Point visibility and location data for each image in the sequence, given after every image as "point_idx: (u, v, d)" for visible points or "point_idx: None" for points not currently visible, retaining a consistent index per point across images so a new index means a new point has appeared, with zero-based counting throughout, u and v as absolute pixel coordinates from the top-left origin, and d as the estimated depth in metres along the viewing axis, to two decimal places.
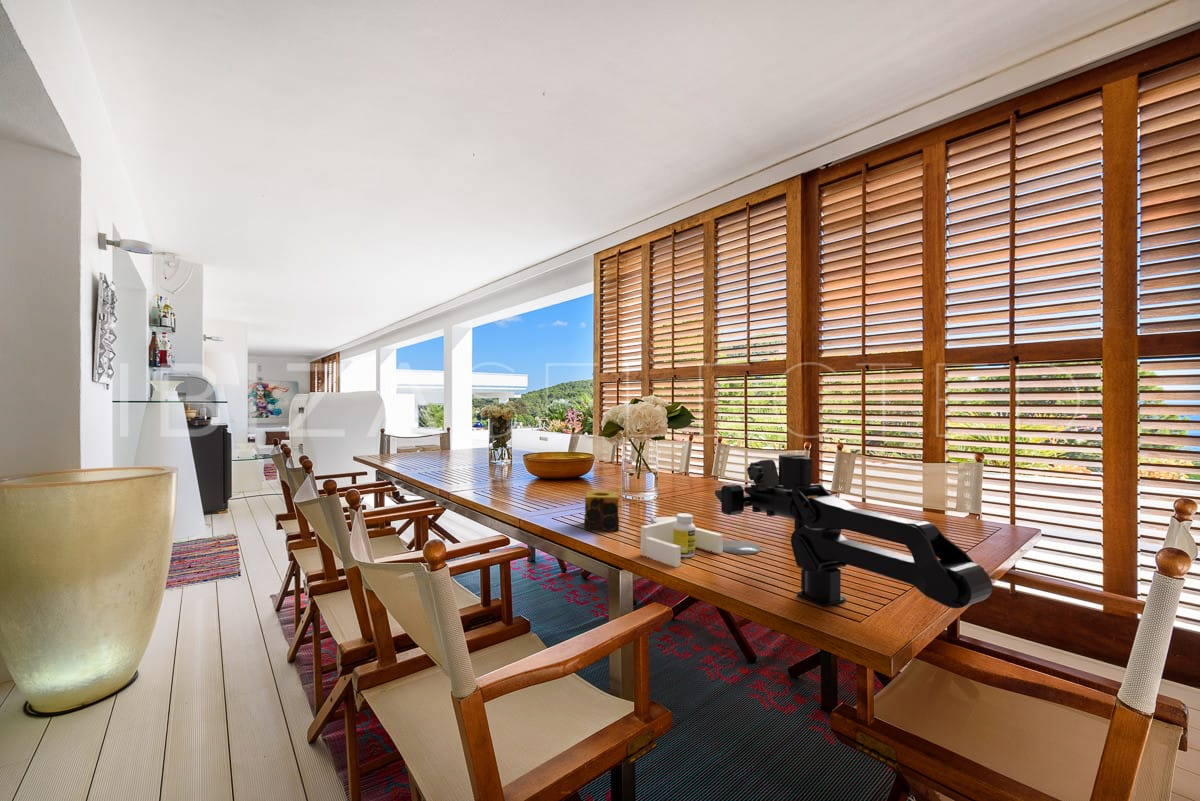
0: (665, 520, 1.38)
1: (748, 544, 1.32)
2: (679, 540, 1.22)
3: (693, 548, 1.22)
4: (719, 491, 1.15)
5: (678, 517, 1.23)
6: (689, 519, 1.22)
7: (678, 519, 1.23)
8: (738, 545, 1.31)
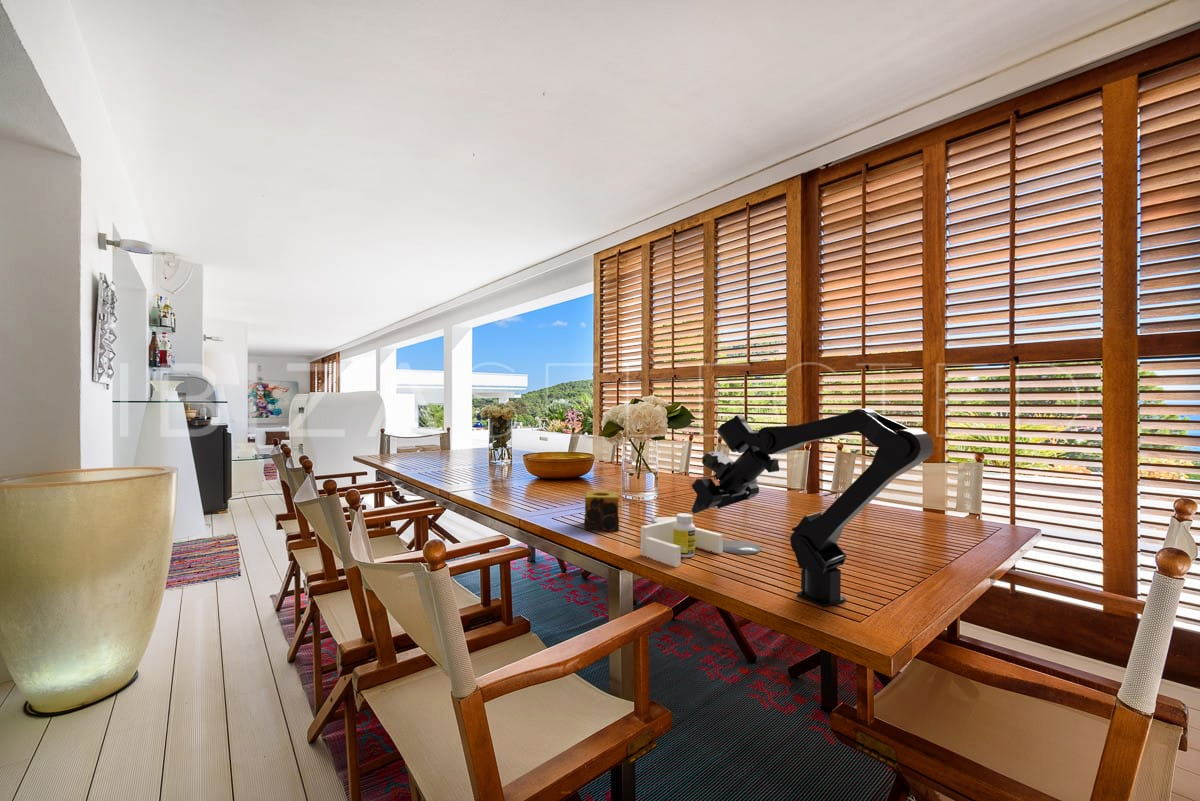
0: (666, 520, 1.38)
1: (748, 544, 1.32)
2: (679, 540, 1.22)
3: (693, 548, 1.22)
4: (694, 504, 1.15)
5: (678, 517, 1.23)
6: (689, 519, 1.22)
7: (678, 519, 1.23)
8: (738, 545, 1.31)
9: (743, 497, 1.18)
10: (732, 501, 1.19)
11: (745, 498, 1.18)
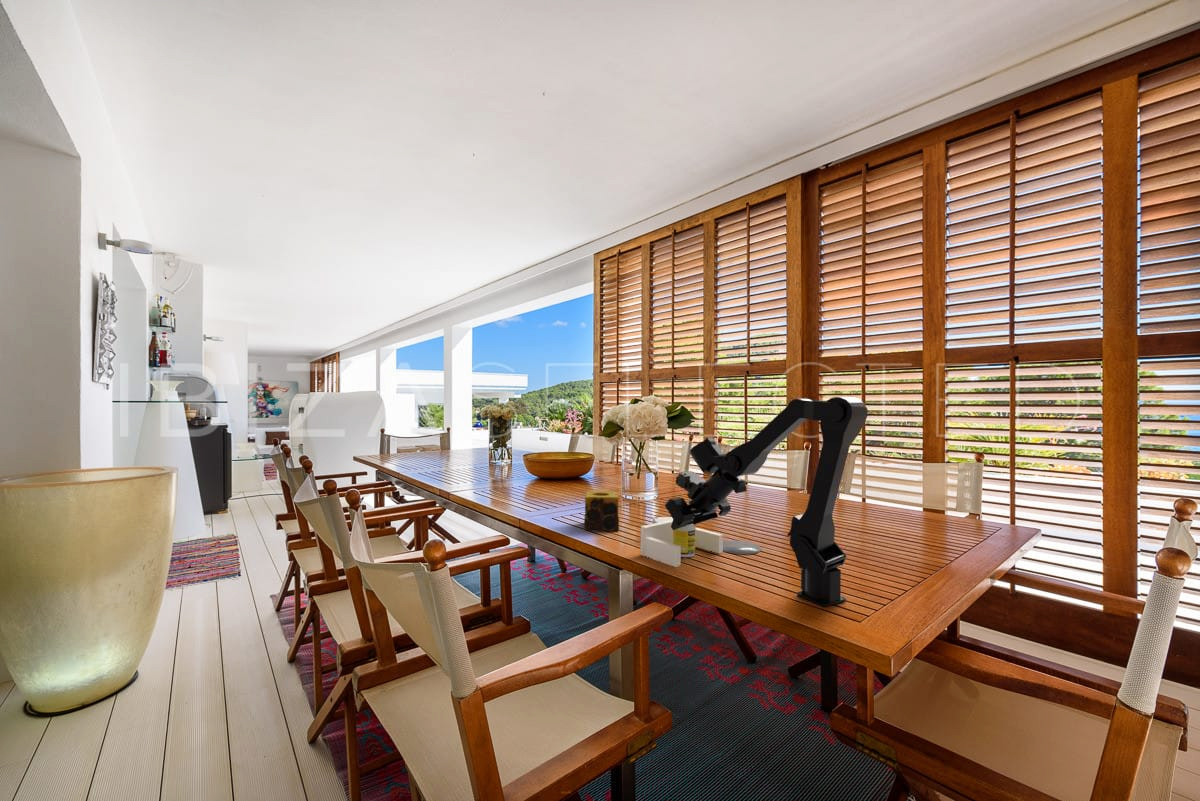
0: (666, 520, 1.38)
1: (748, 544, 1.32)
2: (679, 539, 1.22)
3: (693, 548, 1.22)
4: (673, 521, 1.22)
5: None
6: None
7: None
8: (738, 545, 1.31)
9: (711, 516, 1.23)
10: (701, 519, 1.24)
11: (713, 517, 1.23)
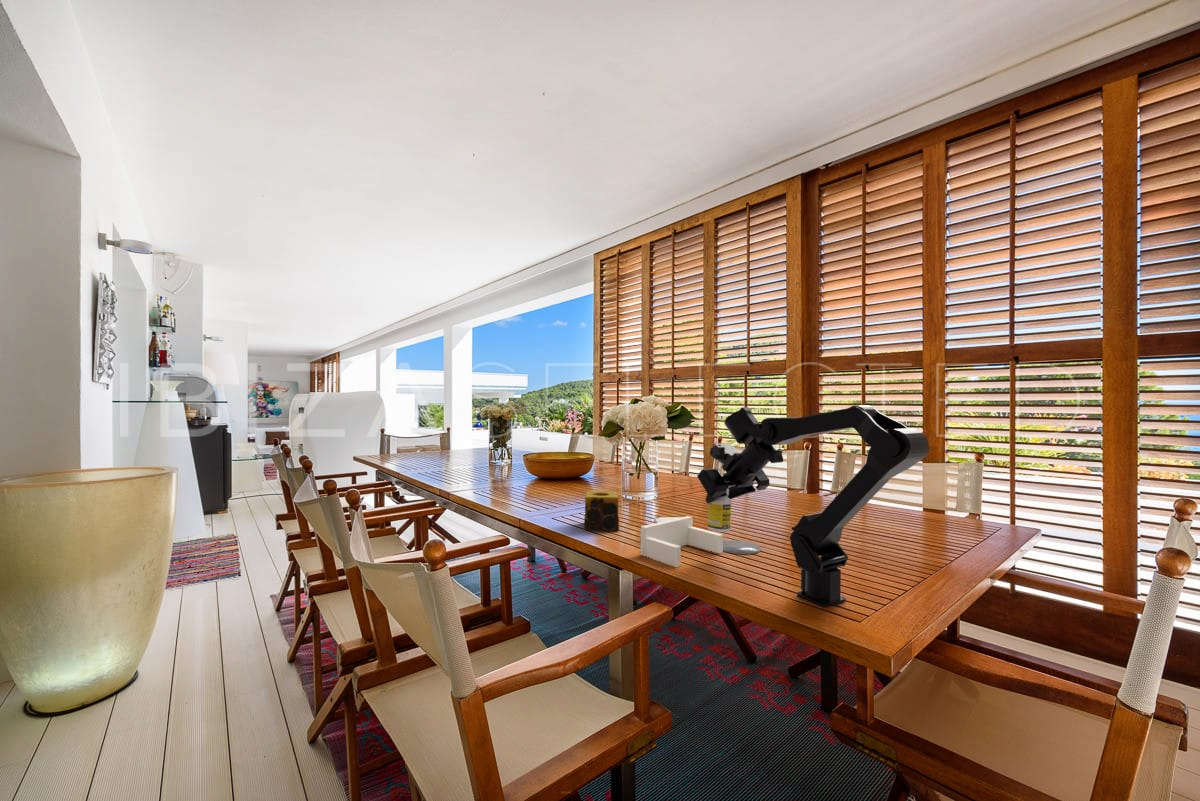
0: (667, 520, 1.38)
1: (748, 544, 1.32)
2: (713, 513, 1.18)
3: (728, 523, 1.18)
4: (707, 493, 1.18)
5: None
6: None
7: None
8: (738, 545, 1.31)
9: (748, 489, 1.18)
10: (737, 493, 1.20)
11: (750, 491, 1.18)
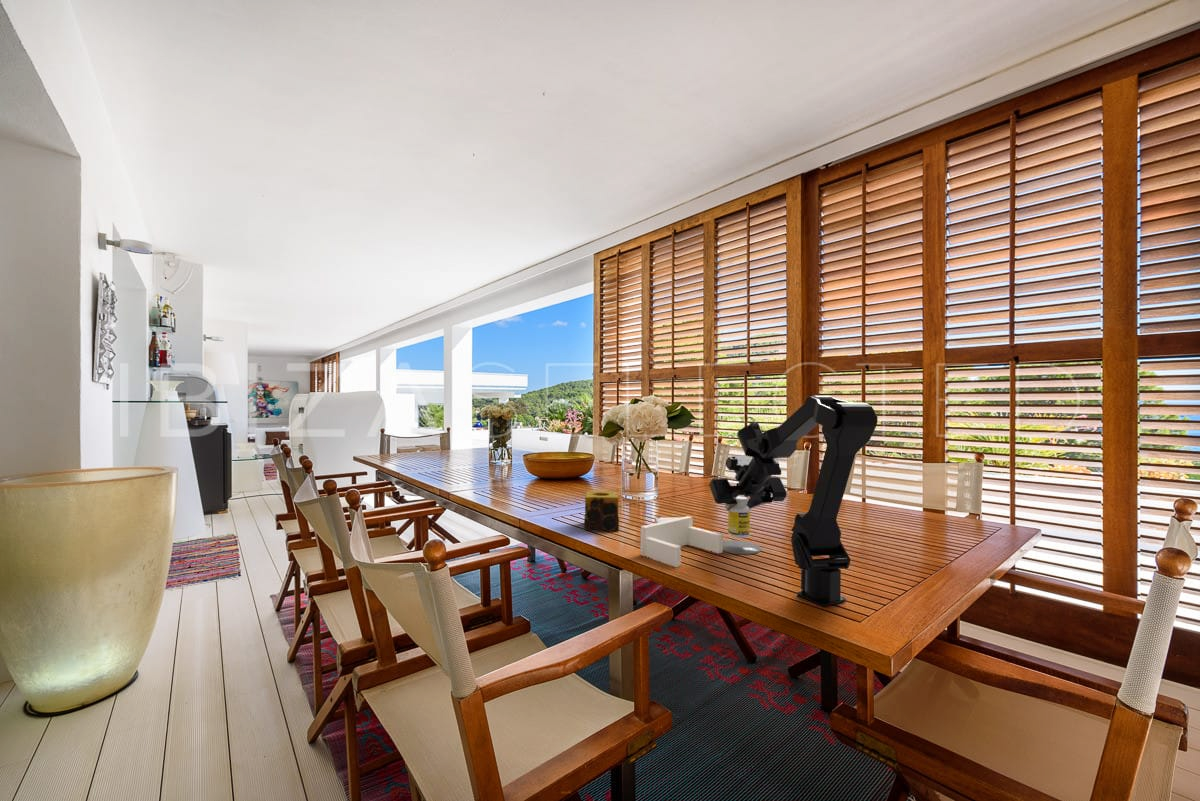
0: None
1: (748, 544, 1.32)
2: (731, 520, 1.28)
3: (745, 530, 1.27)
4: None
5: None
6: (741, 501, 1.28)
7: None
8: (738, 545, 1.31)
9: (764, 500, 1.25)
10: (755, 503, 1.28)
11: (765, 501, 1.25)
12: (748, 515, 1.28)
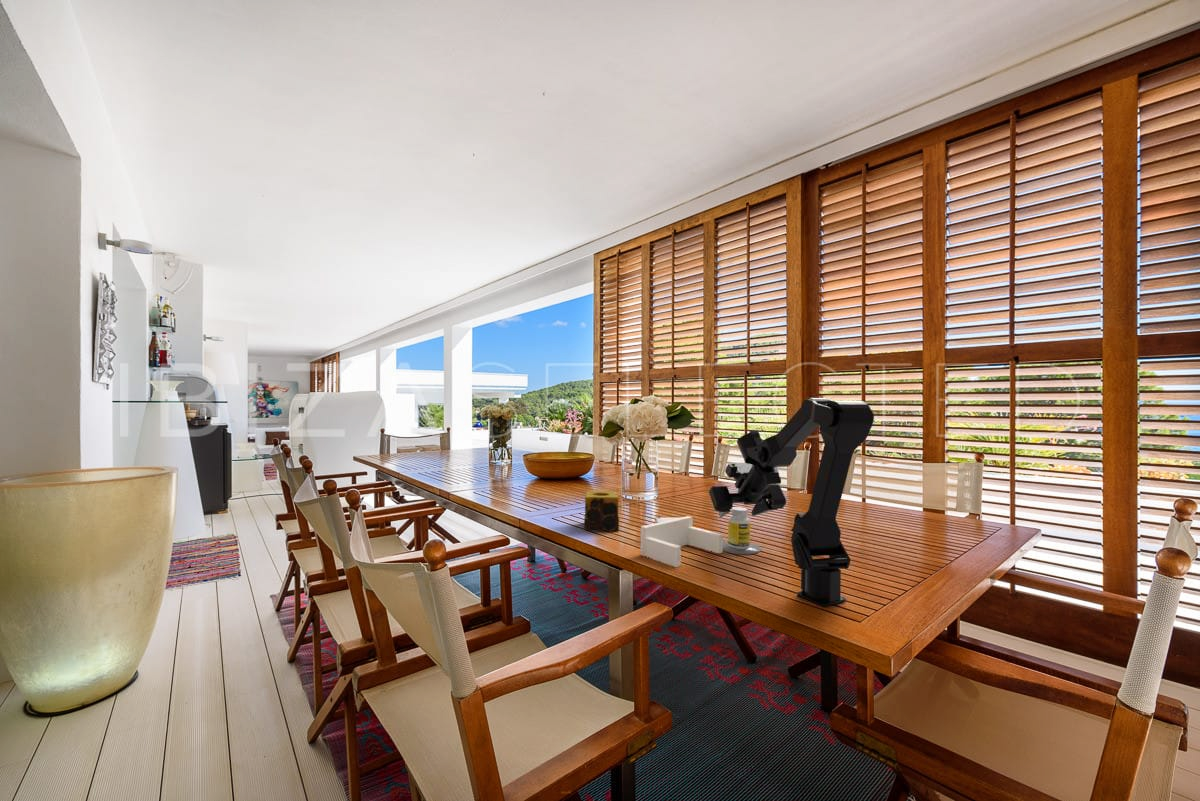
0: None
1: None
2: (731, 531, 1.28)
3: (745, 541, 1.27)
4: None
5: (732, 510, 1.29)
6: (742, 513, 1.28)
7: (732, 512, 1.29)
8: None
9: (770, 507, 1.26)
10: (761, 510, 1.28)
11: (771, 508, 1.26)
12: (748, 526, 1.28)
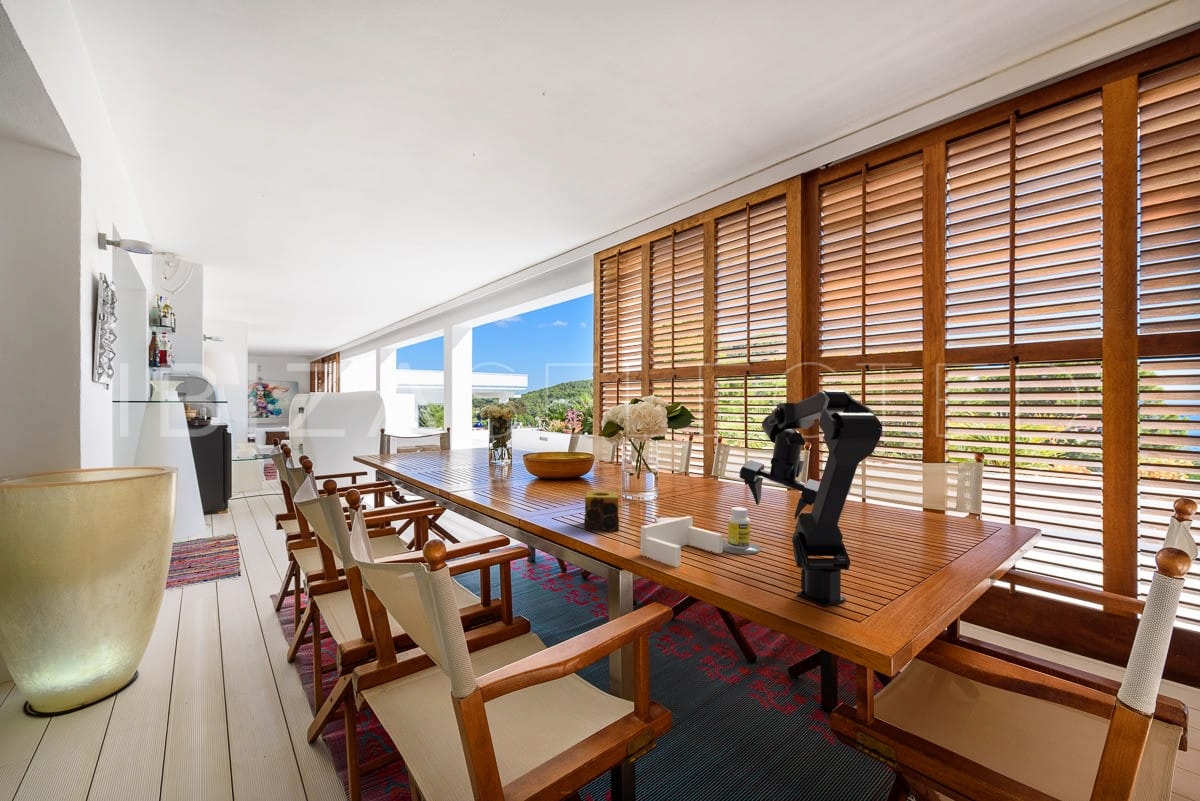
0: None
1: None
2: (731, 531, 1.28)
3: (745, 541, 1.27)
4: None
5: None
6: (741, 513, 1.28)
7: (731, 512, 1.29)
8: None
9: (803, 499, 1.13)
10: None
11: (803, 500, 1.13)
12: (748, 526, 1.28)
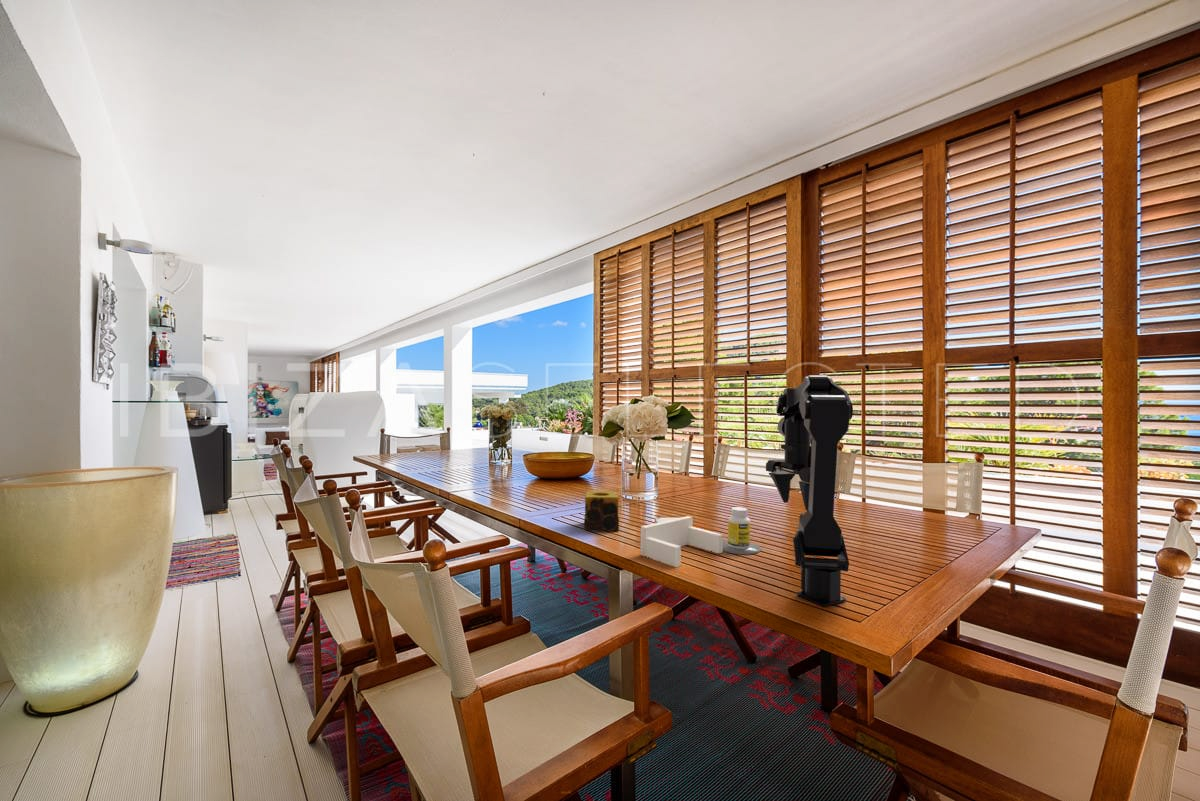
0: None
1: None
2: (731, 531, 1.28)
3: (745, 541, 1.27)
4: None
5: (732, 510, 1.29)
6: (741, 513, 1.28)
7: (732, 512, 1.29)
8: None
9: (803, 481, 1.13)
10: None
11: (802, 482, 1.13)
12: (748, 526, 1.28)
